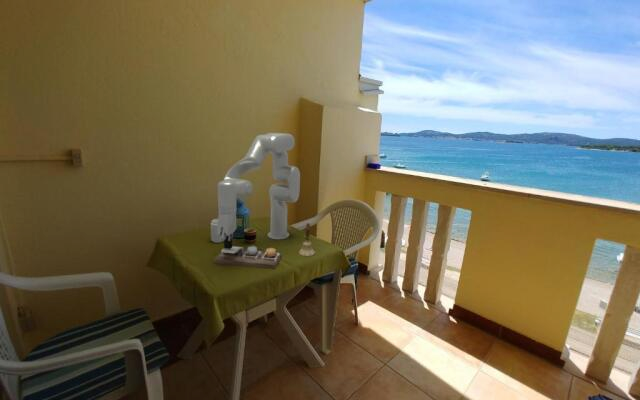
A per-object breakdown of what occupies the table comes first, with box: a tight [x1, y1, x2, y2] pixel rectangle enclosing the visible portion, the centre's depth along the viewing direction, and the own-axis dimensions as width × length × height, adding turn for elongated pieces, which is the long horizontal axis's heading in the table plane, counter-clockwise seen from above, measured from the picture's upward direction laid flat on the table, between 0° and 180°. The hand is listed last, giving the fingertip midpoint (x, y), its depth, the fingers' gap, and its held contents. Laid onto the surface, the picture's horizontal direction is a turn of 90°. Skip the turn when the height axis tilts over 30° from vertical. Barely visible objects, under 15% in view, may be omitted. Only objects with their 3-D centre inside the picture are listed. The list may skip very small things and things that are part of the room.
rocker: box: [220, 245, 244, 253], centre depth 124 cm, size 11×6×1 cm, turn 175°
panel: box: [213, 247, 282, 270], centre depth 124 cm, size 13×28×5 cm, turn 85°
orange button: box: [265, 247, 277, 257], centre depth 123 cm, size 4×4×2 cm
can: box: [210, 218, 224, 244], centre depth 143 cm, size 8×8×12 cm
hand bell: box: [298, 222, 316, 257], centre depth 134 cm, size 8×8×16 cm
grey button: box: [246, 245, 258, 255], centre depth 124 cm, size 4×4×2 cm
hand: (228, 247), depth 119 cm, fingers closed
